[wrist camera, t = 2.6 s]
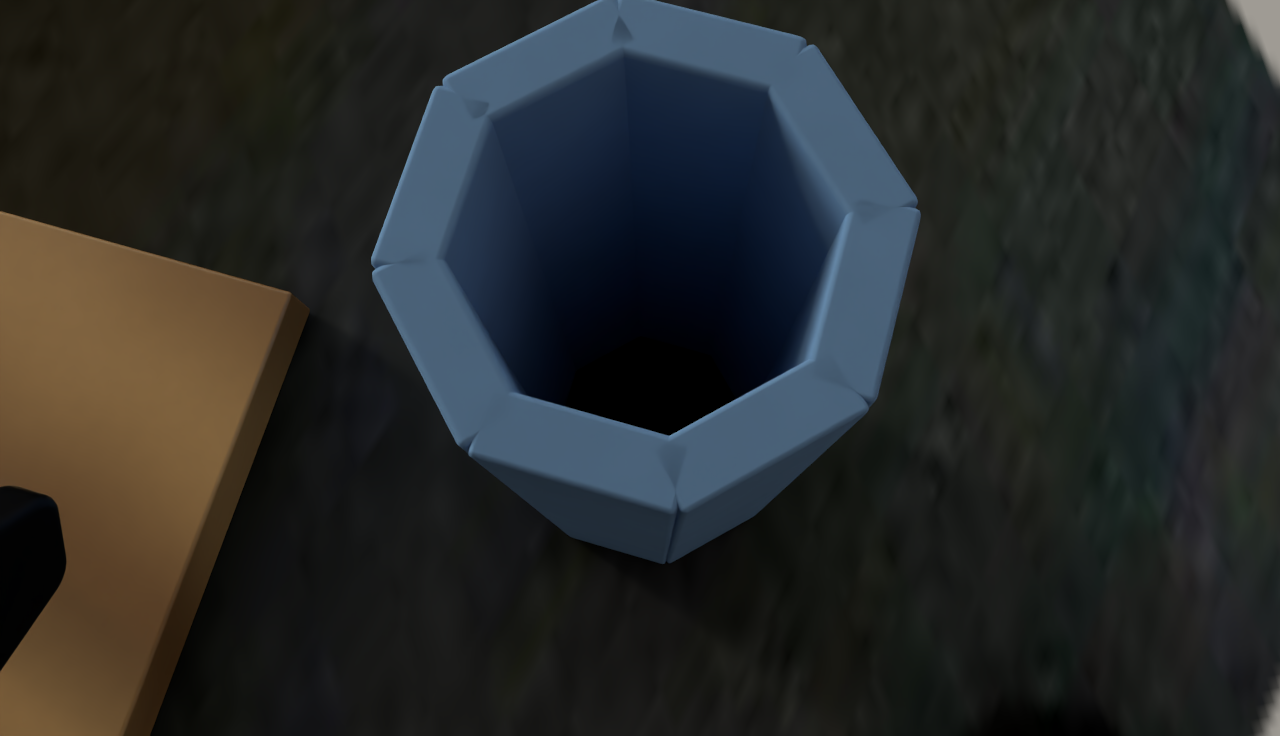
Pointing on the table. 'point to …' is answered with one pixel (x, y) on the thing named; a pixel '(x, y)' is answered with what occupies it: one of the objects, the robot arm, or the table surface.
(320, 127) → the table surface
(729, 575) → the table surface
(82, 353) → the base
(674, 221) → the sleeve
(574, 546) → the table surface
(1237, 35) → the table surface
